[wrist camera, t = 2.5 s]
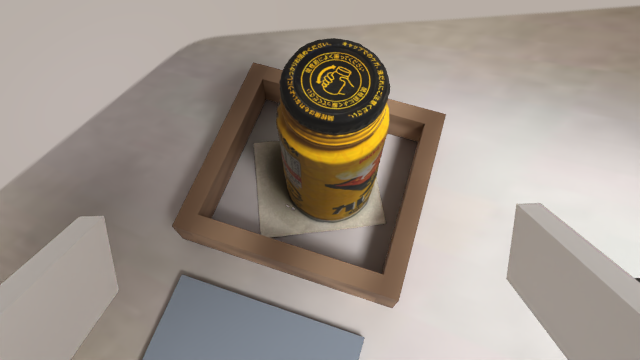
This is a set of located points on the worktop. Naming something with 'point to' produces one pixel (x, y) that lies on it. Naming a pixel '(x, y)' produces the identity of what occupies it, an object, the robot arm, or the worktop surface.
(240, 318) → the mat
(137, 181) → the worktop surface
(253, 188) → the worktop surface
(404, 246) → the pocket
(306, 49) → the condiment
